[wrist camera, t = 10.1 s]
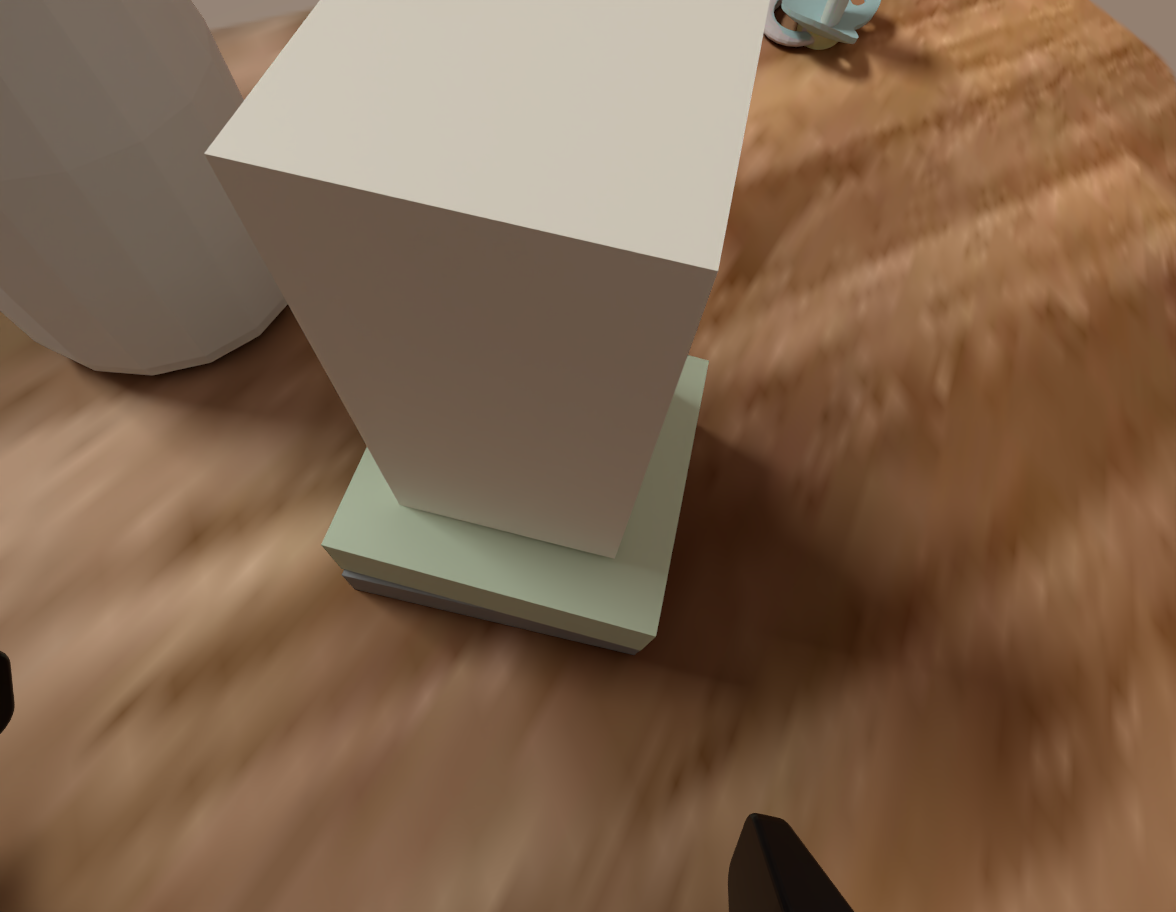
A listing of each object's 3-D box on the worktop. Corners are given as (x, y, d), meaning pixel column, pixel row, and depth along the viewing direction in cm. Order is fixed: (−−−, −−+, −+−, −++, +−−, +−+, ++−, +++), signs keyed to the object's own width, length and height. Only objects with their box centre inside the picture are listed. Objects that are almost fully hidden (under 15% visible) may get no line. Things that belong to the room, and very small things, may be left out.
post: (614, 558, 17) (717, 271, 7) (399, 505, 17) (204, 153, 7) (656, 376, 19) (773, -22, 10) (469, 331, 20) (395, -100, 10)
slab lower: (631, 657, 20) (643, 646, 18) (358, 593, 20) (341, 575, 18) (672, 421, 24) (685, 391, 22) (444, 367, 24) (438, 333, 22)
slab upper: (640, 650, 18) (655, 636, 16) (341, 568, 18) (321, 544, 16) (691, 396, 22) (708, 360, 20) (446, 330, 22) (440, 289, 20)
